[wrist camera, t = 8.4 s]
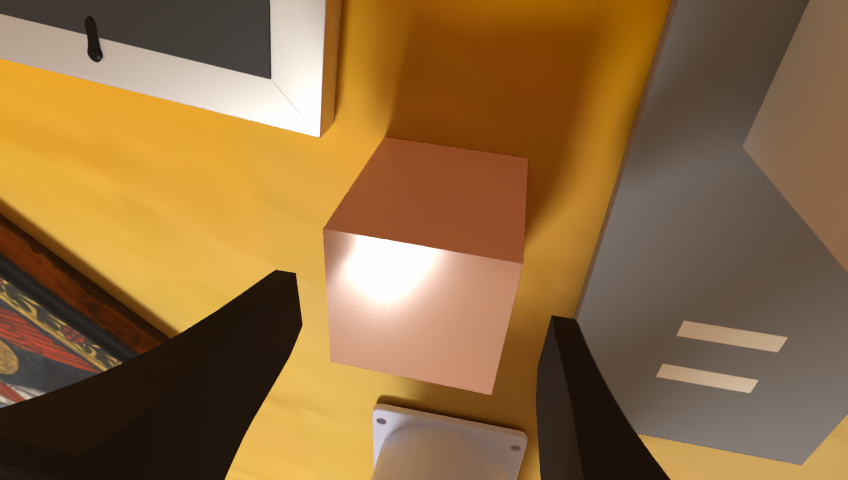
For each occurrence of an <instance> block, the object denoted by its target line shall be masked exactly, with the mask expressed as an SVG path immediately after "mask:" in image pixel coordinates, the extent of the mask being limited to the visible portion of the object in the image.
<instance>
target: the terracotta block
mask: <svg viewBox="0 0 848 480" xmlns="http://www.w3.org/2000/svg"><path fill="white" fill-rule="evenodd" d="M527 172H528V158H523V157H516V156H509V155H503V154H496V153H489V152H482V151H476V150H469V149H462V148H456V147H449V146H442V145H436V144H429V143H422V142H415V141H409V140H402V139H395V138H389V137H384V139H383V140H382V142H381V143H380V145H379V146H378V147H377V149H376V150H375V152H374V153H373V155H372V156H371V158H370V159H369V161H368V162H367V164H366V165H365V167H364V168H363V170H362V171H361V173H360V174H359V176H358V177H357V179H356V180H355V182H354V183H353V185H352V186H351V188H350V189H349V191H348V192H347V194H346V195H345V197H344V198H343V200H342V201H341V203H340V204H339V206H338V207H337V209H336V210H335V212H334V213H333V215H332V216H331V218H330V219H329V221H328V222H327V224H326V225H325V227H324V228H323V235H324V252H325V269H326V286H327V303H328V320H329V337H330V354H331V362H334V363H339V364H344V365H349V366H354V367H358V368H363V369H368V370H373V371H378V372H382V373H387V374H392V375H397V376H402V377H406V378H411V379H416V380H421V381H426V382H430V383H435V384H440V385H445V386H450V387H454V388H459V389H464V390H469V391H474V392H478V393H483V394H488V395H491V394H492V390H493V386H494V382H495V378H496V374H497V370H498V365H499V361H500V357H501V353H502V349H503V345H504V341H505V337H506V333H507V329H508V324H509V320H510V316H511V312H512V308H513V304H514V300H515V296H516V292H517V288H518V283H519V279H520V275H521V271H522V267H523V259H524V237H525V216H526V194H527Z"/></svg>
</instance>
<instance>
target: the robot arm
mask: <svg viewBox="0 0 848 480" xmlns="http://www.w3.org/2000/svg"><path fill="white" fill-rule="evenodd" d="M302 325H303V324H302V317H301V309H300V302H299V294H298V287H297V279H296V273H292V272H286V271H280V270H275V271H273V272H272V273H270V274H269V275H267V276H266V277H264V278H263V279H262V280H260V281H259V282H257V283H256V284H255V285H253V286H252V287H250V288H249V289H248V290H246V291H245V292H243V293H242V294H240V295H239V296H238V297H236V298H235V299H233V300H232V301H230V302H229V303H227V304H226V305H224V306H223V307H221V308H220V309H219V310H217V311H216V312H214V313H212V314H211V315H209V316H208V317H206V318H204V319H203V320H201V321H200V322H198V323H196V324H195V325H193V326H192V327H190V328H188V329H187V330H185V331H184V332H182V333H180V334H179V335H177V336H175V337H173V338H171V339H170V340H168V341H166V342H164V343H162V344H160V345H159V346H157V347H155V348H153V349H151V350H149V351H147V352H145V353H143V354H141V355H139V356H137V357H135V358H132V359H130V360H128V361H126V362H124V363H121V364H119V365H117V366H115V367H113V368H110V369H108V370H106V371H104V372H101V373H99V374H97V375H94V376H92V377H89V378H87V379H84V380H81V381H79V382H76V383H74V384H71V385H68V386H65V387H63V388H60V389H57V390H55V391H52V392H49V393H46V394H43V395H40V396H37V397H33V398H30V399H27V400H24V401H21V402H18V403H14V404H11V405H8V406H5V407H2V408H0V480H225V477H226V475H227V473H228V470H229V468H230V466H231V464H232V461H233V459H234V457H235V455H236V453H237V450H238V448H239V446H240V444H241V442H242V439H243V437H244V435H245V434H246V432H247V430H248V428H249V426H250V424H251V422H252V420H253V419H254V417H255V415H256V414H257V412H258V410H259V408H260V407H261V405H262V403H263V402H264V400H265V398H266V397H267V395H268V393H269V391H270V390H271V388H272V386H273V385H274V383H275V381H276V379H277V378H278V376H279V374H280V372H281V371H282V369H283V367H284V365H285V364H286V362H287V360H288V358H289V357H290V354H291V352H292V350H293V347H294V345H295V343H296V340H297V338H298V335H299V333H300V330H301V328H302ZM536 411H537V428H538V444H539V459H540V474H541V480H671V479H670V478H669V477H668V476H667V475H666V473H665V472H664V471H663V469H662V468H661V467H660V465H659V464H658V463H657V461H656V460H655V459H654V457H653V456H652V455H651V453H650V452H649V451H648V449H647V448H646V446H645V445H644V444H643V442H642V441H641V439H640V438H639V436H638V435H637V433H636V432H635V430H634V429H633V427H632V426H631V424H630V423H629V421H628V420H627V418H626V416H625V415H624V413H623V411H622V410H621V408H620V406H619V405H618V403H617V401H616V400H615V398H614V396H613V394H612V393H611V391H610V389H609V387H608V385H607V383H606V382H605V380H604V378H603V376H602V374H601V372H600V370H599V368H598V366H597V364H596V362H595V360H594V358H593V356H592V354H591V352H590V350H589V347H588V345H587V343H586V341H585V338H584V336H583V333H582V331H581V329H580V326H579V323H578V322H577V321H576V319H571V318H565V317H558V316H552V317H551V321H550V324H549V328H548V332H547V335H546V339H545V343H544V347H543V350H542V354H541V358H540V361H539V365H538V374H537V393H536ZM372 416H373V453H374V473H373V476H372V480H517V477H518V473H519V470H520V467H521V463H522V460H523V456H524V453H525V450H526V446H527V435H526V434H525V433H524V432H522V431H519V430H514V429H509V428H504V427H499V426H494V425H488V424H483V423H478V422H473V421H468V420H463V419H458V418H453V417H448V416H443V415H438V414H433V413H428V412H422V411H417V410H412V409H407V408H402V407H397V406H392V405H387V404H377V405H375V406H374V410H373V413H372Z"/></svg>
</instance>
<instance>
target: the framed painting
mask: <svg viewBox="0 0 848 480" xmlns="http://www.w3.org/2000/svg"><path fill="white" fill-rule="evenodd" d="M168 340H170V339H169V338H168V337H167V336H165V335H164V334H163V333H161V332H160V331H159V330H157V329H156V328H155V327H153V326H152V325H150V324H149V323H148V322H146V321H145V320H144V319H142V318H141V317H140V316H138V315H137V314H135V313H134V312H133V311H131V310H130V309H129V308H127V307H126V306H125V305H123V304H122V303H120V302H119V301H118V300H116V299H115V298H114V297H112V296H111V295H110V294H108V293H107V292H106V291H104V290H103V289H101V288H100V287H99V286H97V285H96V284H95V283H93V282H92V281H91V280H89V279H88V278H86V277H85V276H84V275H82V274H81V273H80V272H78V271H77V270H76V269H74V268H73V267H71V266H70V265H69V264H67V263H66V262H65V261H63V260H62V259H61V258H59V257H58V256H57V255H55V254H54V253H53V252H51V251H50V250H48V249H47V248H46V247H44V246H43V245H42V244H40V243H39V242H38V241H36V240H35V239H34V238H32V237H31V236H29V235H28V234H27V233H25V232H24V231H23V230H21V229H20V228H18V227H17V226H16V225H14V224H13V223H12V222H10V221H9V220H8V219H6V218H5V217H3V216H2V215H1V214H0V408H2V407H5V406H8V405H11V404H14V403H18V402H21V401H24V400H27V399H30V398H33V397H37V396H40V395H43V394H46V393H49V392H52V391H55V390H57V389H60V388H63V387H65V386H68V385H71V384H74V383H76V382H79V381H81V380H84V379H87V378H89V377H92V376H94V375H97V374H99V373H101V372H104V371H106V370H108V369H110V368H113V367H115V366H117V365H119V364H121V363H124V362H126V361H128V360H130V359H132V358H135V357H137V356H139V355H141V354H143V353H145V352H147V351H149V350H151V349H153V348H155V347H157V346H159V345H160V344H162V343H164V342H166V341H168Z"/></svg>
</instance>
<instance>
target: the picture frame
mask: <svg viewBox="0 0 848 480" xmlns="http://www.w3.org/2000/svg"><path fill="white" fill-rule="evenodd" d="M341 7H342V0H0V59H4V60H8V61H12V62H16V63H20V64H24V65H28V66H32V67H36V68H40V69H44V70H49V71H53V72H57V73H61V74H65V75H69V76H73V77H77V78H81V79H85V80H89V81H93V82H97V83H101V84H105V85H109V86H113V87H117V88H121V89H125V90H129V91H133V92H137V93H141V94H145V95H149V96H153V97H157V98H162V99H166V100H170V101H174V102H178V103H182V104H186V105H190V106H194V107H198V108H202V109H206V110H210V111H214V112H218V113H222V114H226V115H230V116H234V117H238V118H242V119H246V120H250V121H254V122H258V123H262V124H266V125H270V126H274V127H279V128H283V129H287V130H291V131H295V132H299V133H303V134H307V135H311V136H315V137H319V138H321V137H322V135H323V134H324V133H325V132H326V131H327V130H328V129H329V128H330V127H331V126H332V125H333V124H334V116H335V100H336V85H337V69H338V54H339V38H340V22H341Z"/></svg>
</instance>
